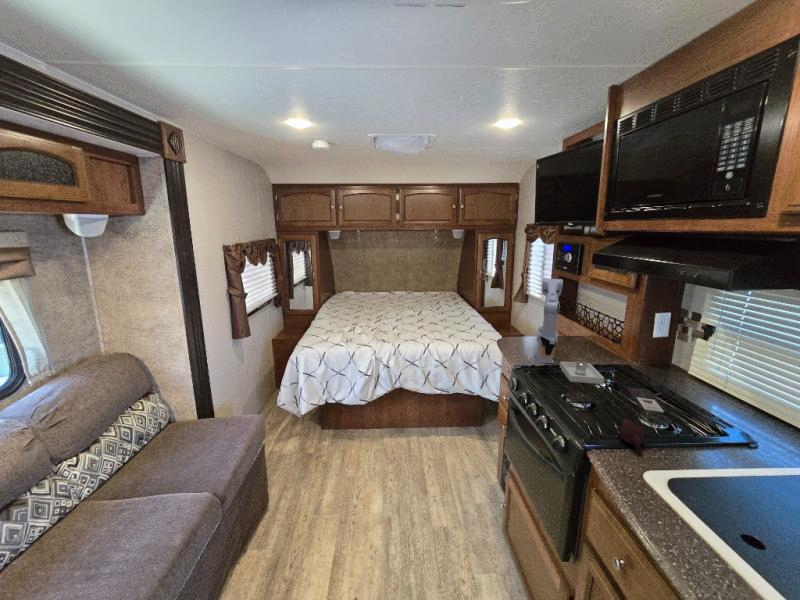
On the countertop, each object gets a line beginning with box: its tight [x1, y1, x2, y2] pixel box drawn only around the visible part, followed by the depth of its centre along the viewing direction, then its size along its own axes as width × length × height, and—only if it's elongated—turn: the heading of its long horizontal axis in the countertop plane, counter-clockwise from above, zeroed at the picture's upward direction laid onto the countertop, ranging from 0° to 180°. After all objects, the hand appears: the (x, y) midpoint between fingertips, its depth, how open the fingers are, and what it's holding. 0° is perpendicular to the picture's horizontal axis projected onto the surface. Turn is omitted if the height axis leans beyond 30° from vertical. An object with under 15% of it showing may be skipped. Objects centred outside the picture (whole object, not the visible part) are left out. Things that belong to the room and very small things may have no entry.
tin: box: [575, 360, 588, 376], centre depth 154 cm, size 4×4×6 cm
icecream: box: [617, 417, 645, 455], centre depth 107 cm, size 7×7×15 cm
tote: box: [559, 361, 605, 385], centre depth 155 cm, size 16×14×3 cm
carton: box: [539, 345, 555, 359], centre depth 156 cm, size 4×6×4 cm
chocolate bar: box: [625, 386, 669, 414], centre depth 133 cm, size 9×1×18 cm
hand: (546, 353), depth 156 cm, fingers closed on carton, 4 cm apart
